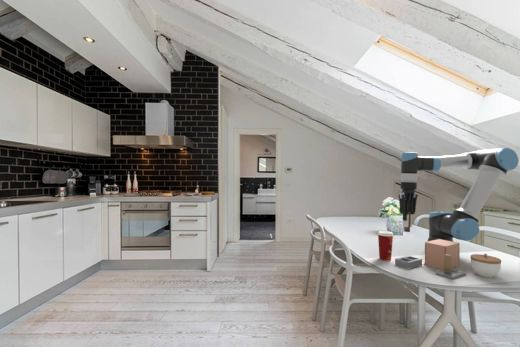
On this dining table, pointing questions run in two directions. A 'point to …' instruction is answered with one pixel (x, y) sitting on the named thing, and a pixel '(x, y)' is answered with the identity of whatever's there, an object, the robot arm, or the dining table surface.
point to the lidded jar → (485, 265)
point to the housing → (441, 252)
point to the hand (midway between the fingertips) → (407, 226)
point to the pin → (407, 229)
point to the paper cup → (385, 244)
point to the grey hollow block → (408, 262)
